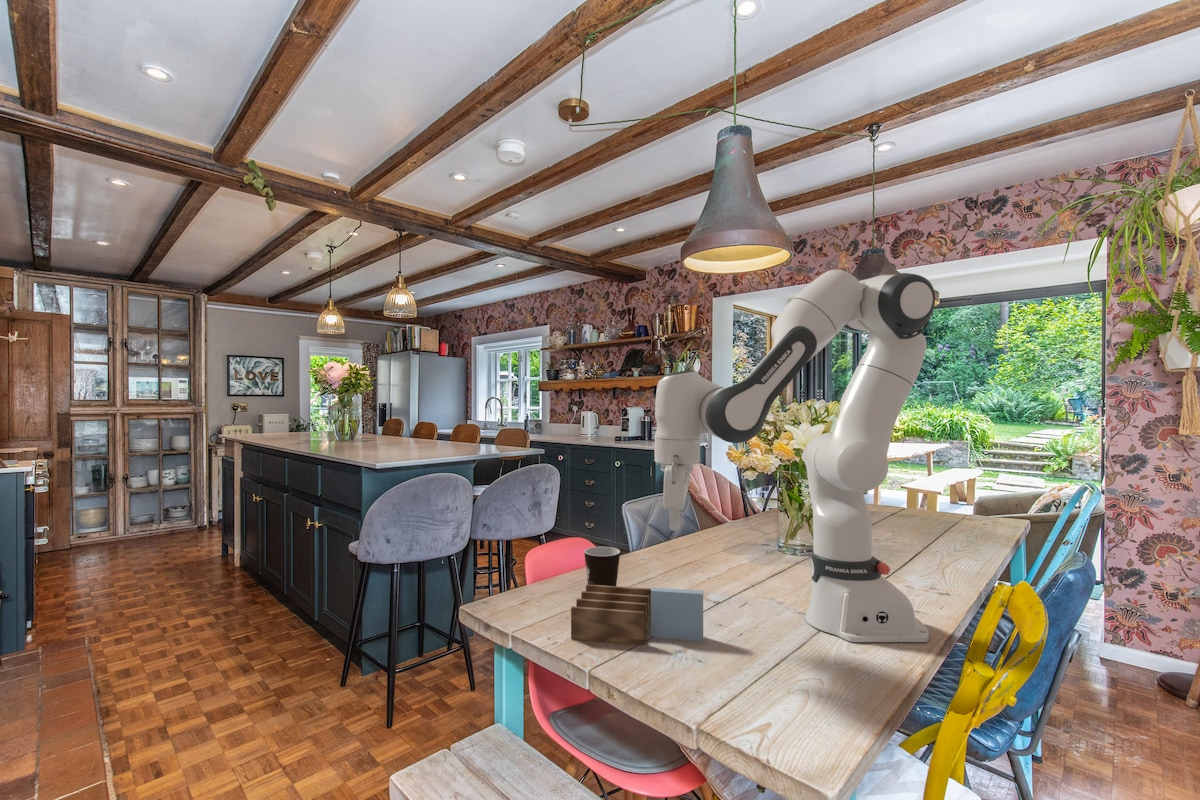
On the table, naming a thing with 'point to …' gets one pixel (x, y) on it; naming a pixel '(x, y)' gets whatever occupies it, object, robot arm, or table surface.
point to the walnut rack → (612, 614)
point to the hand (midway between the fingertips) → (676, 524)
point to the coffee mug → (602, 565)
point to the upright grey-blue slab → (677, 614)
